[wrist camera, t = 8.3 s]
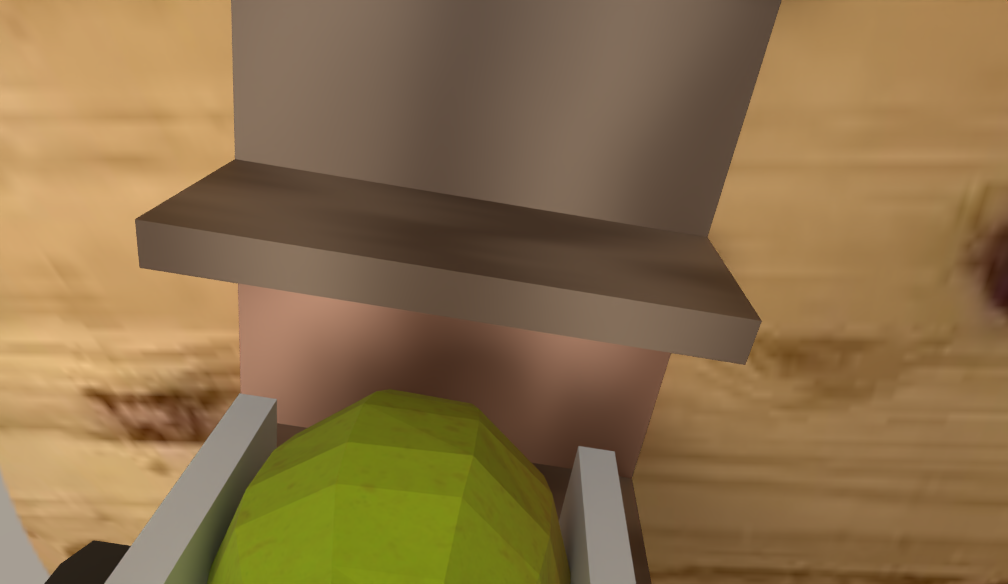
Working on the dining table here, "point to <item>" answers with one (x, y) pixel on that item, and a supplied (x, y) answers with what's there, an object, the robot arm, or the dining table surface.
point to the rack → (478, 210)
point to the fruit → (396, 503)
